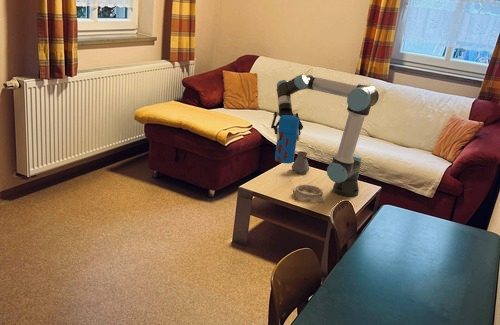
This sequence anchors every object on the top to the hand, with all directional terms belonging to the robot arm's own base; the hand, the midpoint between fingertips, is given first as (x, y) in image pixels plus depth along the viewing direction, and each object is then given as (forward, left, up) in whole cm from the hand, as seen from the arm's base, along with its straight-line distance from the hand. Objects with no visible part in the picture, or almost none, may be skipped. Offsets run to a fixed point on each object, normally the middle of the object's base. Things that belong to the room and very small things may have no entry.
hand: (288, 139), depth 268 cm
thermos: (+1, -3, -13) cm, 14 cm away
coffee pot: (-13, -33, -31) cm, 47 cm away
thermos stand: (-15, +2, -31) cm, 35 cm away
